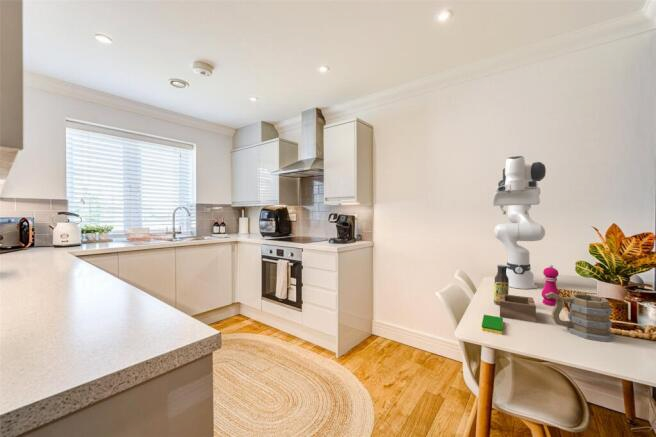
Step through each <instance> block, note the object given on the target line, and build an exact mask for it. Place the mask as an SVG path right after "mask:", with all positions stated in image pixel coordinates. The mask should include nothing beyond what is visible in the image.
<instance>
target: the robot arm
mask: <svg viewBox="0 0 656 437" xmlns="http://www.w3.org/2000/svg"><path fill="white" fill-rule="evenodd" d="M525 162H526V160H525V157H524V156H522V155H517V156H510V157H507V158H506V160H505V166H504V168H503V169H502V179H501V180H500V181H499V182H498V184H497V186H496V187H495V189H494V190H495V192H494V194H493V196H492V205H493V206H494V207H495V206H498V207H499V206H500V207H499V208H500V210H501V211H502V215H507V218H508V220H509V222H504V223H499V224H496V225H495V227H494V228H493V234H494V237H495V238H496V239H497V240H499V241H500V242H501V243H503V245H504V247H505V248H506V249H505V250H506V254H507V262H506V266H507V269H506V275H507V277H508V279H509V288H513V289H522V290H530V289H538V285H537V284H535V282H534V281H535V280H534V278H535V277H534V276H535V275H534V273H533V272H532V271H531V263H530V251H529V250H528V249H527V248H525V247H523V246H522V245H519V244H518V243H517V242H537V241H538V242H539V241H542V240H543V239H544V237H545V236H546V230H545V228H544V226H543V225H541V224H540V223H538V222H535V221H534V220H533V219H532V218H531V217H530V214H529V210H531V208H532V205H533V206H536V205H540V203H541V199H540V195H541V188H540V187H539V183H538V182H540V181H542V180H543V179H544V178H545V177H546V173H547V168H546V165H545V164H544V163H542V161H535V162H528V163H525ZM505 206H507V210H504V207H505Z"/></svg>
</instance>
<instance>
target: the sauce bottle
mask: <svg viewBox="0 0 656 437" xmlns="http://www.w3.org/2000/svg"><path fill="white" fill-rule="evenodd" d="M496 267H497V273H496V275H495V276H494V282H493V283H494V284H493V303H494V304H495V305H498V306H500V294H506V295H509V292H510V291H509V290H510V287H509V279H508V277H507V275H506V270H507V264H497V266H496Z"/></svg>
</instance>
